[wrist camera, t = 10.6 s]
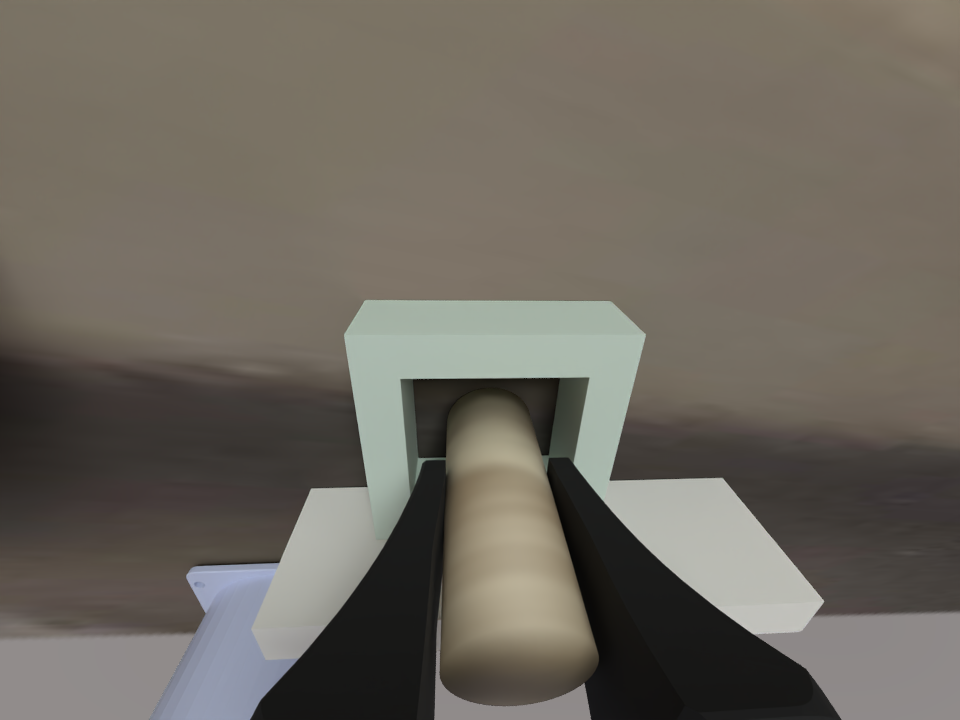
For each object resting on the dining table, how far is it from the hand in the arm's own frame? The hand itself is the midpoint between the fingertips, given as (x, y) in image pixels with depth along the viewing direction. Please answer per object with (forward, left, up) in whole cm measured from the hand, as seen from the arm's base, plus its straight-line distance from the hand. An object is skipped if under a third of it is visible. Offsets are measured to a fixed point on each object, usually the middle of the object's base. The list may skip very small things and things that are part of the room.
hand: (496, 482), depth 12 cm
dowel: (0, 0, -3) cm, 3 cm away
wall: (-6, -2, -4) cm, 8 cm away
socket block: (0, 0, -4) cm, 5 cm away
